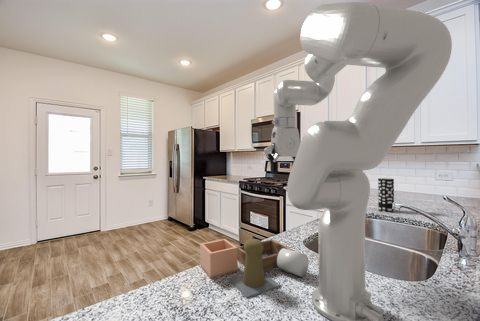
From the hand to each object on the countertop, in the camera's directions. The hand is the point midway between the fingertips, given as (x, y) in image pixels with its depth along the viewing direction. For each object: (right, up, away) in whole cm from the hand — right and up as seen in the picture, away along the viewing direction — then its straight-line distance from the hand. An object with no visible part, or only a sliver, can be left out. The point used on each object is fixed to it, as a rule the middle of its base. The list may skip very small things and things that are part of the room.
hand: (285, 173), depth 79 cm
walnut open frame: (-8, -28, -6) cm, 30 cm away
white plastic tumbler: (-1, -28, -13) cm, 31 cm away
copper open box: (-23, -29, -10) cm, 38 cm away
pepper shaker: (-12, -28, -18) cm, 36 cm away
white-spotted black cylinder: (+76, -27, +62) cm, 102 cm away
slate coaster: (-12, -29, -18) cm, 36 cm away
